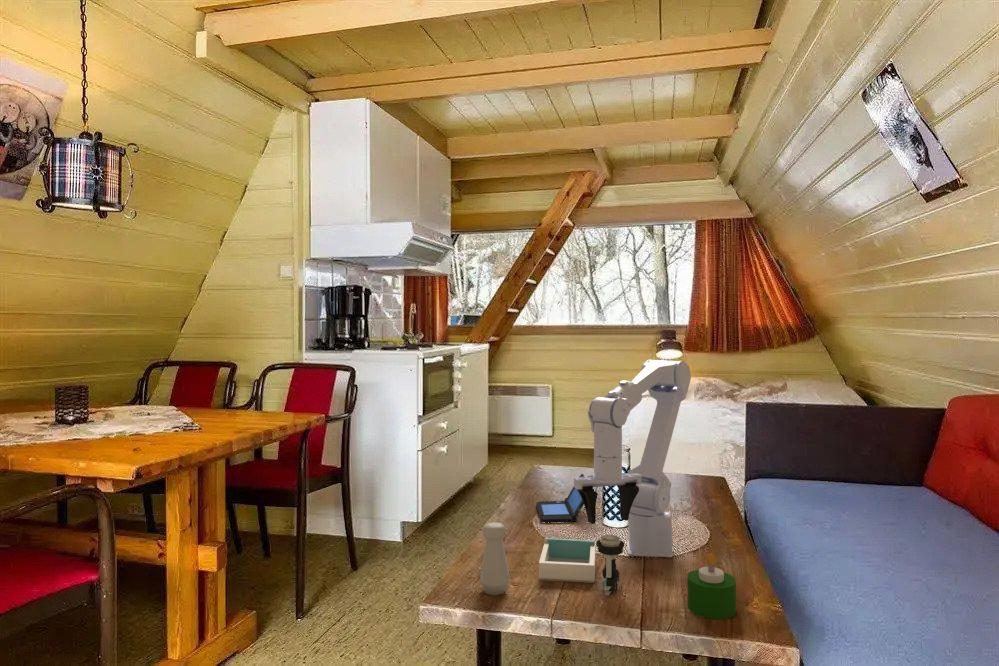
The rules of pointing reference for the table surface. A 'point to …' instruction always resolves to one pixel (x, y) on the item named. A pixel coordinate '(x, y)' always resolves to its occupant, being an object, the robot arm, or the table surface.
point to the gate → (569, 548)
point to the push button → (610, 561)
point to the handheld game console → (561, 508)
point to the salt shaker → (494, 560)
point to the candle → (711, 592)
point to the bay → (567, 567)
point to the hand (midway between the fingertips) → (608, 520)
